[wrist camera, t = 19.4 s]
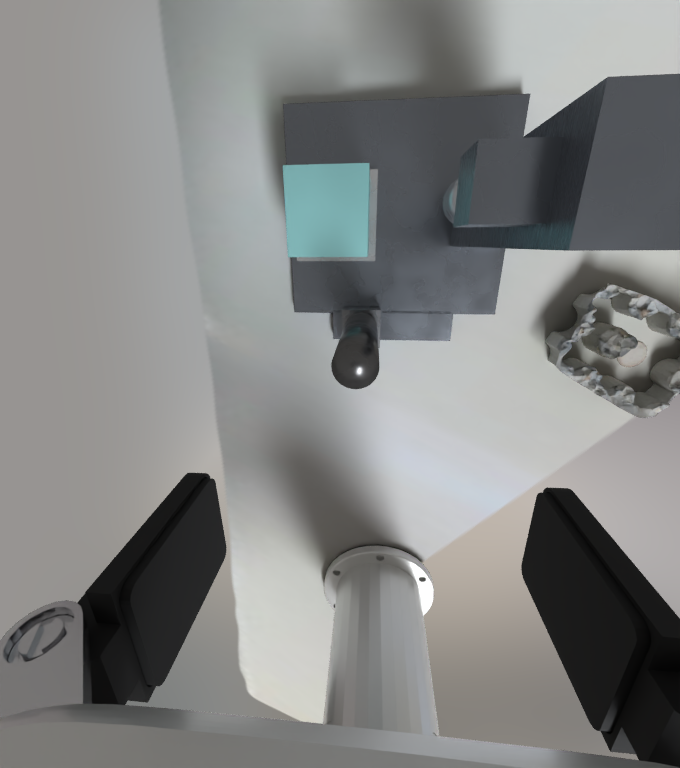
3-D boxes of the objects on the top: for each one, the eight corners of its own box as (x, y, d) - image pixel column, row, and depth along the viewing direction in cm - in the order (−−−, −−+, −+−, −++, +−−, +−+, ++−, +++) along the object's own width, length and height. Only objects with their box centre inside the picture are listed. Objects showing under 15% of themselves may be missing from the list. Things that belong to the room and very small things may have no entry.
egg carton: (699, 337, 28) (751, 352, 24) (626, 410, 31) (662, 433, 27) (593, 270, 27) (630, 275, 23) (528, 352, 29) (551, 368, 26)
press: (486, 338, 29) (637, 465, 12) (298, 335, 30) (207, 445, 14) (523, 99, 23) (916, -277, 6) (286, 109, 24) (99, -181, 8)
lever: (379, 344, 29) (382, 393, 19) (343, 343, 29) (328, 391, 20) (380, 307, 28) (384, 340, 18) (342, 307, 28) (327, 339, 18)
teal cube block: (368, 254, 26) (367, 256, 21) (303, 254, 27) (287, 257, 22) (370, 178, 24) (369, 162, 20) (299, 179, 25) (282, 165, 20)
